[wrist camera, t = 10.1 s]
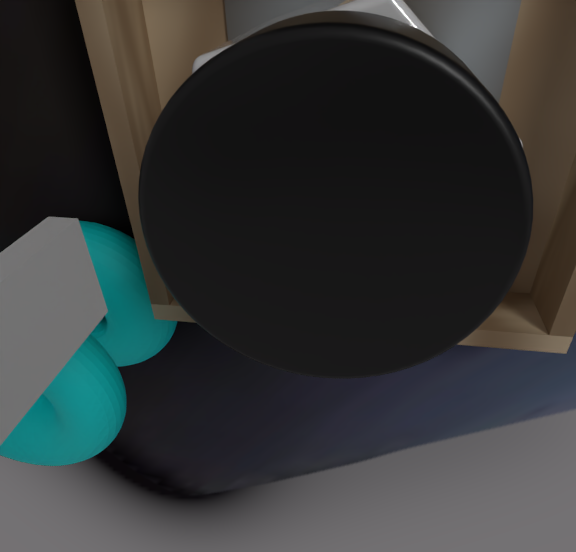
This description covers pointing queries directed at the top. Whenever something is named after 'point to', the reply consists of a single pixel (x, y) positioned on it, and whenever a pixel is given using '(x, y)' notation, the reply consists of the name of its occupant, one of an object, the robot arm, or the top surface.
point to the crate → (453, 34)
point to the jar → (336, 193)
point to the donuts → (94, 363)
